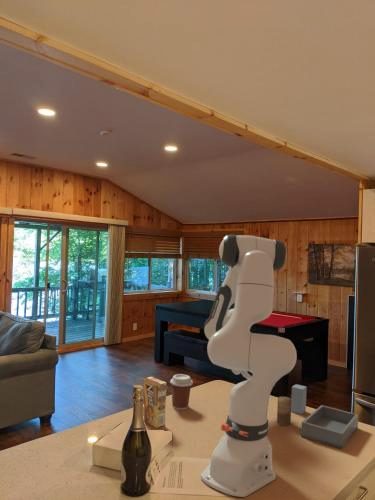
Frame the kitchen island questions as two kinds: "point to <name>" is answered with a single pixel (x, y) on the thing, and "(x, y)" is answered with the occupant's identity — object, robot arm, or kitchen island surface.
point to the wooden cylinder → (284, 411)
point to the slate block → (298, 399)
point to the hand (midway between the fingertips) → (257, 378)
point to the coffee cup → (180, 391)
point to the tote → (330, 426)
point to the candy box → (154, 401)
